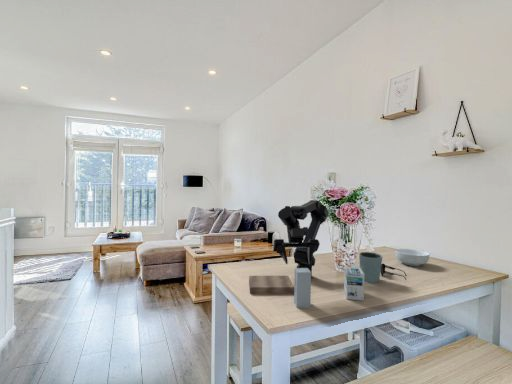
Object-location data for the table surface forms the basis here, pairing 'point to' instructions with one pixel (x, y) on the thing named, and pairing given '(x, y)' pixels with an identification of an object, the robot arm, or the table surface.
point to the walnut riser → (270, 284)
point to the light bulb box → (354, 282)
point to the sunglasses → (389, 272)
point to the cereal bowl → (412, 256)
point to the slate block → (302, 288)
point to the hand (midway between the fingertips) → (298, 263)
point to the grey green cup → (370, 266)
